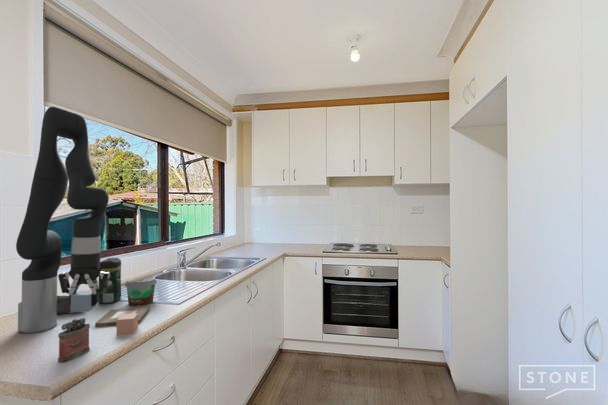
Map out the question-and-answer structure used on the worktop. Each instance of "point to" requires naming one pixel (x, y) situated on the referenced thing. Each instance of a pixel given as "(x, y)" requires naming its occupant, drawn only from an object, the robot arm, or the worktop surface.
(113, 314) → the walnut board
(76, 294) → the slate block
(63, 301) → the perforated stone tool
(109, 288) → the coffee jar
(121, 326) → the terracotta block
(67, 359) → the lighter
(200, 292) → the worktop surface
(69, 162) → the robot arm
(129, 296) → the food container
